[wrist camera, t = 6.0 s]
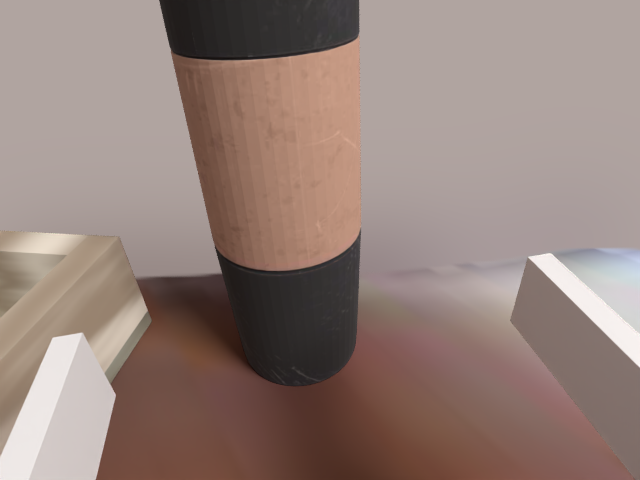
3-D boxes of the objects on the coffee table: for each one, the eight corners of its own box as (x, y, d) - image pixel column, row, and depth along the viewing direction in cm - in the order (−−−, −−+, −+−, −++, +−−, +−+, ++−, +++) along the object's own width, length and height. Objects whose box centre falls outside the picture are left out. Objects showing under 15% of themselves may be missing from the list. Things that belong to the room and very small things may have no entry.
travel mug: (252, 298, 31) (188, -32, 19) (359, 298, 30) (359, -42, 19) (227, 390, 24) (111, -20, 13) (362, 392, 24) (365, -35, 12)
